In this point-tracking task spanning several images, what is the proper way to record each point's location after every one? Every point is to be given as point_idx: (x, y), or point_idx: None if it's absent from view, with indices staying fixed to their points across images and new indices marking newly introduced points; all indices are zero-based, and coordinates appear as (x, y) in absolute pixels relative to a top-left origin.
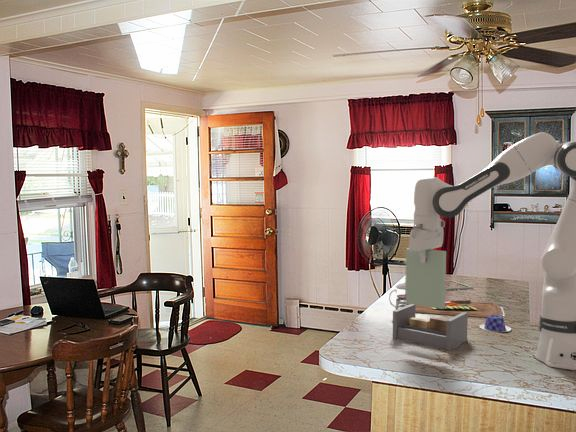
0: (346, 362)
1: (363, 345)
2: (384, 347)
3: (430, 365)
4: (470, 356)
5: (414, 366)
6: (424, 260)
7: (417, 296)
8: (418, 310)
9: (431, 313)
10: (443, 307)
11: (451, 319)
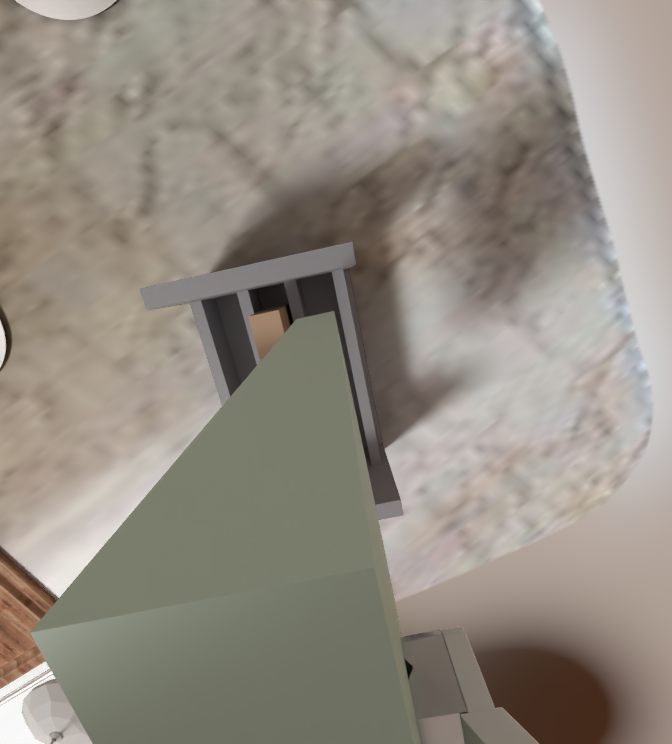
0: (637, 405)
1: (476, 478)
2: (445, 430)
3: (489, 225)
4: (308, 191)
5: (533, 253)
6: (476, 667)
7: (367, 469)
8: (38, 615)
9: (20, 574)
10: (317, 315)
11: (321, 258)
